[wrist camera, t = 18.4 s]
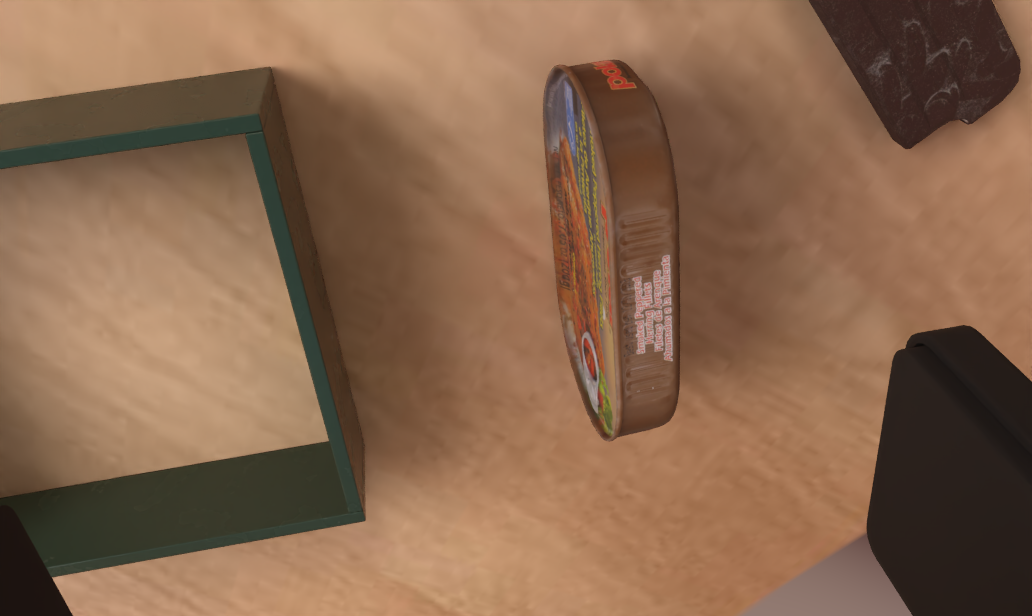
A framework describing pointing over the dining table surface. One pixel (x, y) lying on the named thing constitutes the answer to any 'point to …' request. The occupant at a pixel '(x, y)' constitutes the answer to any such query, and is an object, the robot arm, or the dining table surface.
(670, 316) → the tin
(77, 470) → the dining table surface
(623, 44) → the dining table surface
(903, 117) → the ice cream bar
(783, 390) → the dining table surface
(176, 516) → the box
